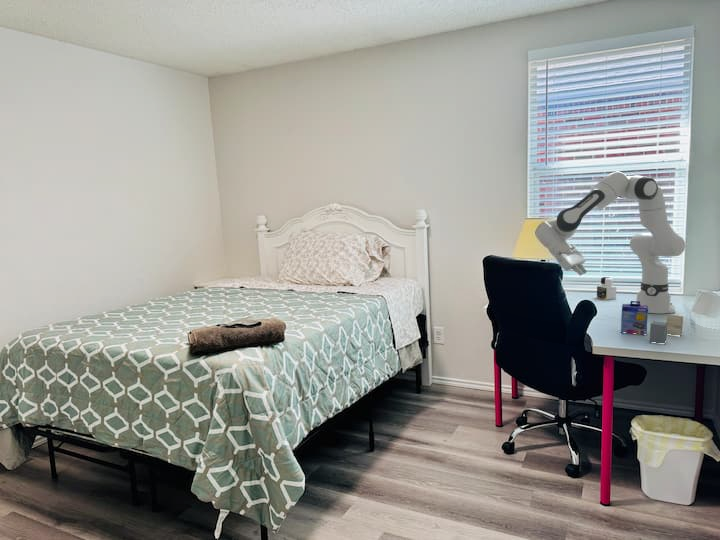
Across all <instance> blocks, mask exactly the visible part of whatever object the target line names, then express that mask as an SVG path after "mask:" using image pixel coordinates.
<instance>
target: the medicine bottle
mask: <svg viewBox="0 0 720 540" xmlns="http://www.w3.org/2000/svg"><path fill="white" fill-rule="evenodd" d="M596 298H597V299H601V300H605V301H608V300H617V286H615V285H614V279H613V277H611V276H610V277H609V276H608V277H607V276H604V277H601V278H600V285H597V286H596Z"/></svg>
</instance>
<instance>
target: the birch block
mask: <svg viewBox="0 0 720 540" xmlns="http://www.w3.org/2000/svg"><path fill="white" fill-rule="evenodd" d="M683 322H684V316H683V315H676V314H669V315H668V316H666V323H667V334H671V335H681V334H682V335H683V325H684V323H683ZM682 335H681V336H682Z"/></svg>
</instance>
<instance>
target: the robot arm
mask: <svg viewBox="0 0 720 540" xmlns="http://www.w3.org/2000/svg"><path fill="white" fill-rule="evenodd" d="M617 198H621V199H627V200H637V202H638V210H639V218H640V224H641V226H643V227H644V228H645V229H647V231H649V232H644V233H636V234H634V235H632V237H631V239H630V241H629V247H630V249H631V251H632V252H633V253H634V254H635V255H636V256H637V258H638V260H639V262H640V264H641V275H642V276H641V282H640V291H638V292H637V293H636V300H635V301H640V305H647V306H648V314H675V313H676V310H675V304H673V302H671V297H672V296H671V295H670V293H669V287H670V285H669V283H668V281H669V277H668V276H669V269H668V266H667V265H666V264H664V263H663V262H662V261H661V260H660V257H665V258H666V257H667V258H671V257H672V258H673V257H678V256H681V255H682V254H683V253H684V251H685V250H686V249H685V248H686V242H685V239H684V238H683V237H682V236H680V235H679V234H677V233H676V232H675V230H674V229H673V228H672V226H671V225H670V222H669V221H668V217H667V208H666V202H665V197H664V193H663V191H662V188H661V187H660V186H659V185H658V181H656V179H654V178H653V177H650V176H645V175H626V174H625V173H623V172H621V171H613V172H611V173H609V174H608V175H607V176H605V177H604V178H602V179H601V180H600V181H598V183H596V184H595V185H594V186H593V187H592V188H591V189H590V190H589V192H588V194H586V196H585V197H583V198H582V199H580V201H578V202H577V203H576V204H574V205H572V206H571V207H568V208H565V209H563V210H561V211H560V212H559V213H558V214H557V217H556V219H555V220H551V221H550V220H549V221H542V222H541V223H540V224H539V225H538V226H537V227H536V228H535V229H536V230H535V233H534V236H535V237H536V238H537V240H538V241H539V242H540V244H542V246H544V247H545V248H546V249H547V250H548V251H549V253H550V254H551V255H552V257H554V258H555V259H556V260H555V261H556V262H557V263H558V264H559V265H560V267H561V268H562V269H563V270H564V271H565V272H566V271H567V272H568V271H570V270H572V271H573V272H575V273H577V274H578V275H579V276H583V275H585V274H586V273H588V271H587V270H586V268H585V267H584V263H586V258H585V257H584V256H583V255H582V254H581V252H579V250H577V247H576V246H575V245H574V244H572V243H570V242H568V241H567V240H568V239H569V238H572V237H573V236H574V234H575V233H576V231H577V229H578V227H579V226H580V224H581V222H582V220H583V218H584V217H585V216H586V215H587V214H588V213H590V212H591V211H592V210H593V209H594V208H598V209H600V208H601V209H603V208H604V209H605V207H607V206H609V205H611V203H613V202H614V201H616V199H617ZM635 304H639V303H636V302H635Z"/></svg>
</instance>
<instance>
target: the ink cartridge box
mask: <svg viewBox="0 0 720 540" xmlns="http://www.w3.org/2000/svg"><path fill="white" fill-rule="evenodd" d="M636 303H639V304H636ZM648 314H649V313H648V306H647V305H640V301H636V300H635V301H634V300H630V303H622V305H621V318H620V319H621V321H620V326H621V327H620V333H621V332H626V333H636V334H647V335H648V331H647V330H648V316H649V315H648Z"/></svg>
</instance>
